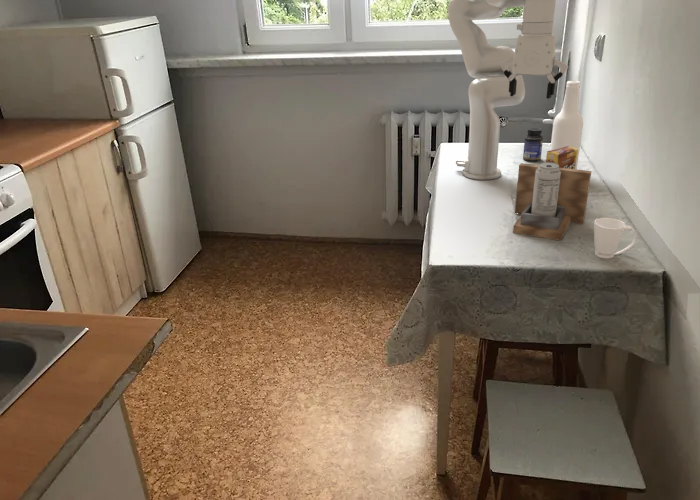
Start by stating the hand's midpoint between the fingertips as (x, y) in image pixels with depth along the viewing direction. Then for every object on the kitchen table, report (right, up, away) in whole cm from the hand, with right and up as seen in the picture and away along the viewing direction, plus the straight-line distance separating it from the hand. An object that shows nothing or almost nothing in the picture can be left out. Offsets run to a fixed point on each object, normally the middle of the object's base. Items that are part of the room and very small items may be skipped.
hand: (530, 96), depth 157 cm
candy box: (+11, -27, +13) cm, 32 cm away
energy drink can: (+1, -34, -6) cm, 35 cm away
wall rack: (+2, -35, -4) cm, 35 cm away
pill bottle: (+16, -10, +50) cm, 53 cm away
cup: (+13, -43, -20) cm, 49 cm away
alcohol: (+20, -17, +33) cm, 43 cm away
